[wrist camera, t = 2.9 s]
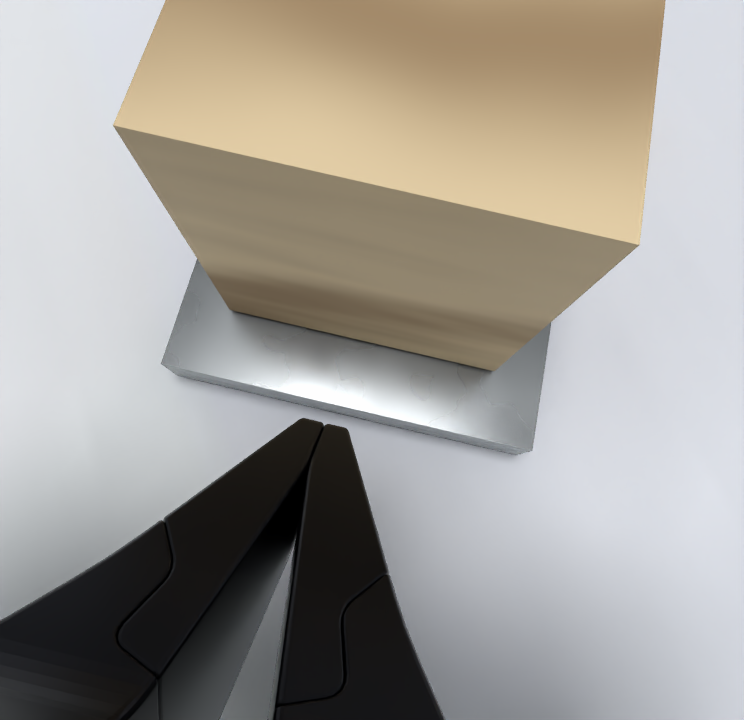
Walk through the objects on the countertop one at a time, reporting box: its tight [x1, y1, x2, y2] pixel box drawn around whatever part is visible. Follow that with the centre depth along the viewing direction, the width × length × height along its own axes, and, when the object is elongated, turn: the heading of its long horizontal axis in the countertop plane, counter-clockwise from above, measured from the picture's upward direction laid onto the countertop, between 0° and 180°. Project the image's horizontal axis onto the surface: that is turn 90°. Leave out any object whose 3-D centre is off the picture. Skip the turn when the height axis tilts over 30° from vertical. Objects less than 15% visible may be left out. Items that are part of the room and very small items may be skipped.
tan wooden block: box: [113, 0, 665, 371], centre depth 12 cm, size 6×8×8 cm
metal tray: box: [161, 259, 551, 455], centre depth 18 cm, size 22×15×4 cm
